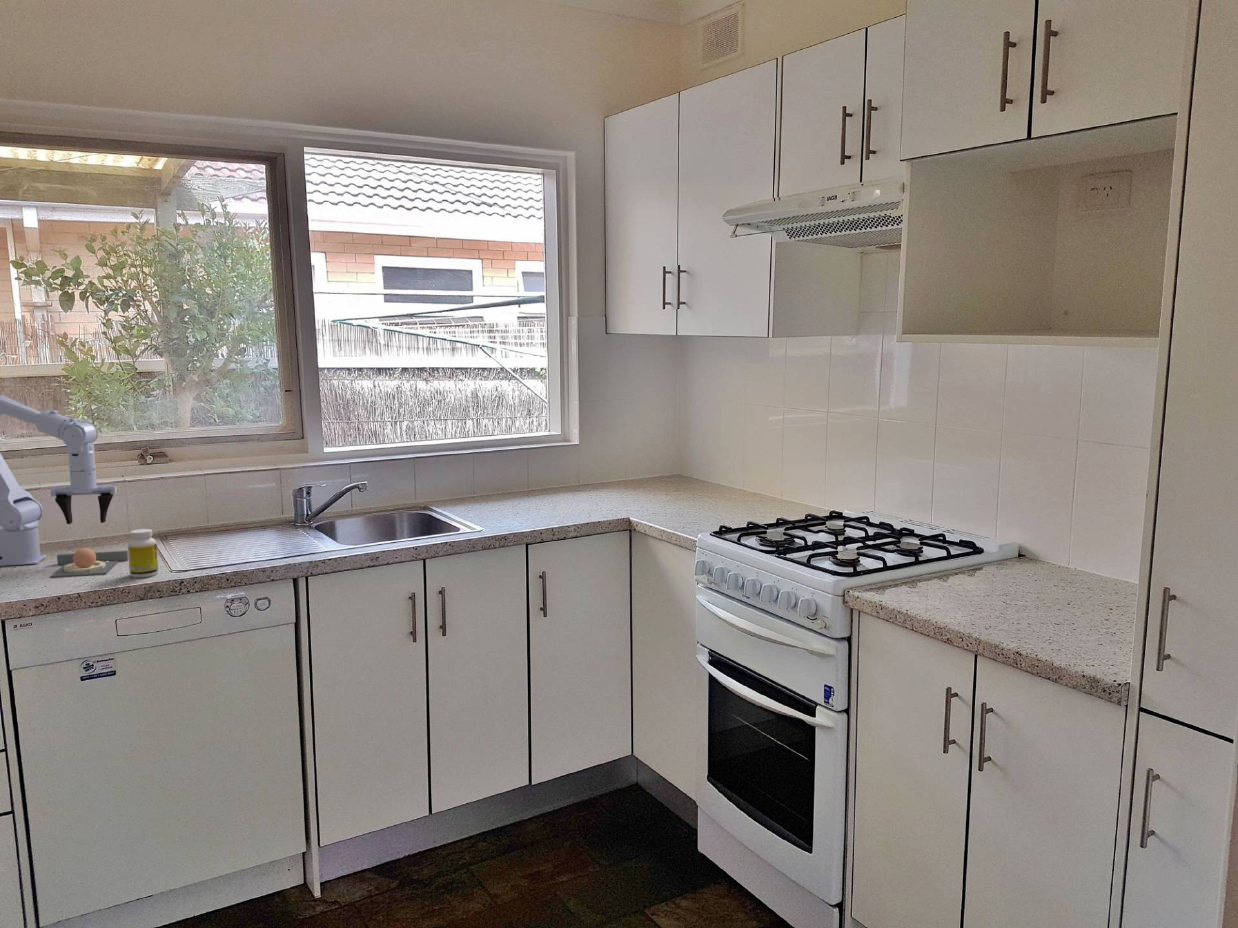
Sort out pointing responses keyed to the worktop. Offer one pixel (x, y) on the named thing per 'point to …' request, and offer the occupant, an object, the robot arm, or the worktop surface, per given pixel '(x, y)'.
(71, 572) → the slate mat
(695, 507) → the worktop surface
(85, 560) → the ball
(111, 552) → the acrylic wall
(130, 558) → the pill bottle
